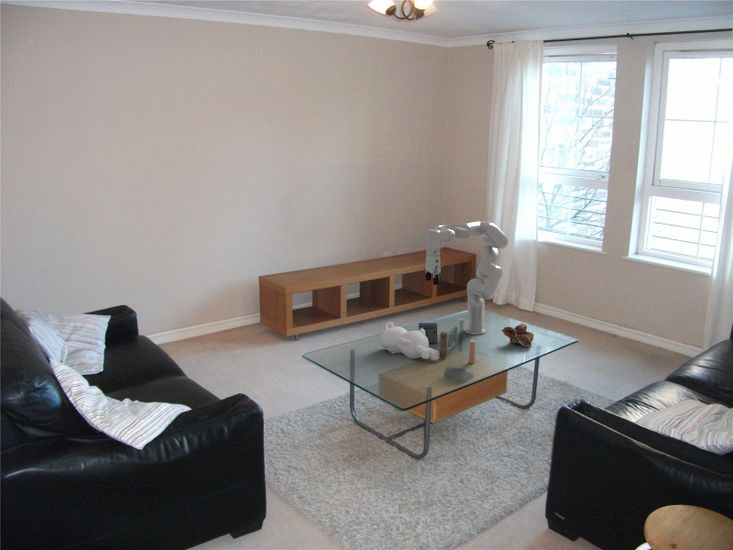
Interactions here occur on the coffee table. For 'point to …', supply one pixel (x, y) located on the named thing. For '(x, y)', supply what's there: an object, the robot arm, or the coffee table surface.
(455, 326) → the gate
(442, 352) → the gate post
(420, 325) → the small box
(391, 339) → the teddy bear
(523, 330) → the seed pod
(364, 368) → the coffee table surface
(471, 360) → the post
